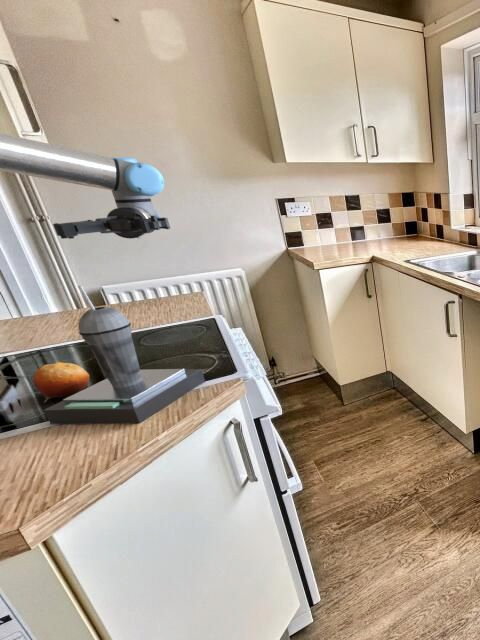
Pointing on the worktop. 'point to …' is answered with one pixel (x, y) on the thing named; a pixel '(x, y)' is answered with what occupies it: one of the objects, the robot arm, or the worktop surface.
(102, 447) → the worktop surface
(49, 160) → the robot arm
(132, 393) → the scale pan
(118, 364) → the beverage cup
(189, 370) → the scale
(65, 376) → the fruit
